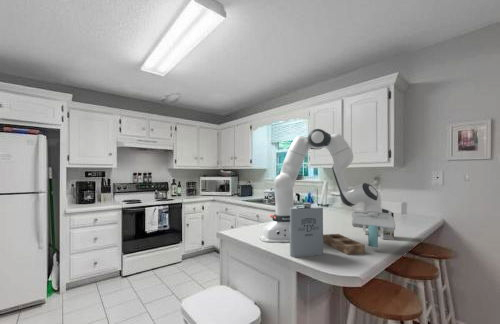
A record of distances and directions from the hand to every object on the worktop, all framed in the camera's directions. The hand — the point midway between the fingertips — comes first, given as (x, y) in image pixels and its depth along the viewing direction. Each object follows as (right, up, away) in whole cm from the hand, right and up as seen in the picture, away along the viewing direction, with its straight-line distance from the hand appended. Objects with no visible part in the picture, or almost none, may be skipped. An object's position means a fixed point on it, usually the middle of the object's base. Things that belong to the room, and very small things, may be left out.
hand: (373, 235), depth 119 cm
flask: (-35, -8, -6) cm, 36 cm away
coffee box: (+21, -10, +25) cm, 34 cm away
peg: (0, -5, 0) cm, 5 cm away
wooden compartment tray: (-13, -8, +6) cm, 17 cm away
